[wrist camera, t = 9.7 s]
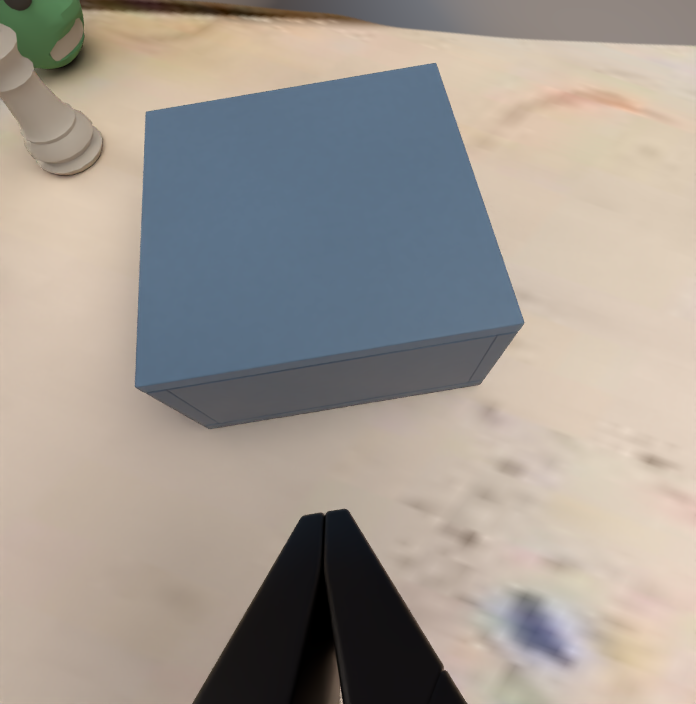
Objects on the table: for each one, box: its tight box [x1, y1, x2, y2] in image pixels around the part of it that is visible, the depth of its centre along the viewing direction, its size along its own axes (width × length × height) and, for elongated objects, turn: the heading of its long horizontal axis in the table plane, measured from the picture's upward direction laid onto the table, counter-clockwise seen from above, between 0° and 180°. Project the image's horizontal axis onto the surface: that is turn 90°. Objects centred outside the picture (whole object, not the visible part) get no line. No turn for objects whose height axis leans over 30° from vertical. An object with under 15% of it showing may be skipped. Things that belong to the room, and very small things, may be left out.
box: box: [146, 331, 518, 429], centre depth 21 cm, size 13×14×6 cm
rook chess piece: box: [0, 23, 102, 175], centre depth 25 cm, size 4×4×8 cm
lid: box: [135, 63, 524, 393], centre depth 18 cm, size 14×14×1 cm
